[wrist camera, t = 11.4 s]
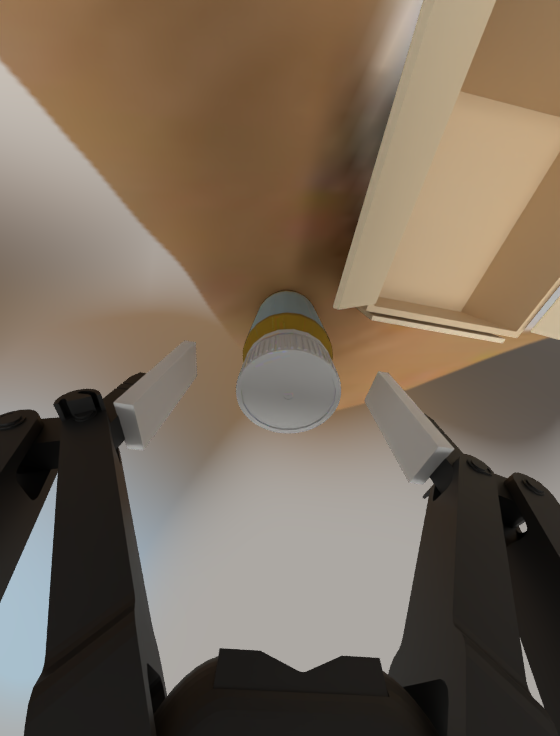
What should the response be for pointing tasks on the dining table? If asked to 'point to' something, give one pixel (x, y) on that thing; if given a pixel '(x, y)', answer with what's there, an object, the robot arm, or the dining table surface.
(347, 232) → the dining table surface
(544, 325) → the back flap
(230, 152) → the dining table surface
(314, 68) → the dining table surface
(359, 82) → the dining table surface
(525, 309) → the carton
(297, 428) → the bottle
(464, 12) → the front flap
